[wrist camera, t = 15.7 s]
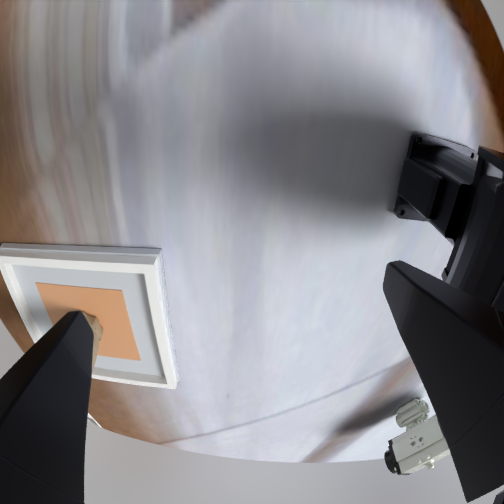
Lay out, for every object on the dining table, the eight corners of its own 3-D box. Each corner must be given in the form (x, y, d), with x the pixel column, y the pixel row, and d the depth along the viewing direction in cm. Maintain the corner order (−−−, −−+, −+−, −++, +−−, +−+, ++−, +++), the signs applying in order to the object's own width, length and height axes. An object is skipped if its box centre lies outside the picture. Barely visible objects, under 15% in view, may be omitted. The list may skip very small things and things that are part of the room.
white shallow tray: (161, 248, 22) (156, 262, 20) (179, 376, 30) (178, 390, 29) (3, 242, 21) (-7, 253, 19) (54, 358, 29) (49, 369, 27)
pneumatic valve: (443, 388, 37) (469, 449, 27) (384, 424, 42) (402, 484, 31) (434, 380, 35) (463, 447, 25) (370, 419, 39) (388, 485, 29)
